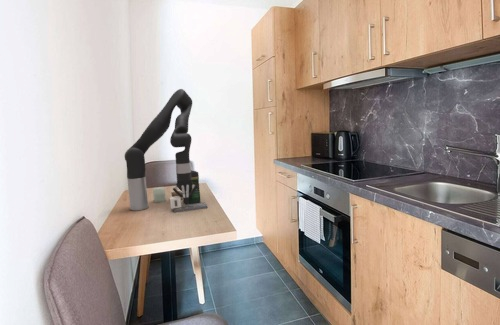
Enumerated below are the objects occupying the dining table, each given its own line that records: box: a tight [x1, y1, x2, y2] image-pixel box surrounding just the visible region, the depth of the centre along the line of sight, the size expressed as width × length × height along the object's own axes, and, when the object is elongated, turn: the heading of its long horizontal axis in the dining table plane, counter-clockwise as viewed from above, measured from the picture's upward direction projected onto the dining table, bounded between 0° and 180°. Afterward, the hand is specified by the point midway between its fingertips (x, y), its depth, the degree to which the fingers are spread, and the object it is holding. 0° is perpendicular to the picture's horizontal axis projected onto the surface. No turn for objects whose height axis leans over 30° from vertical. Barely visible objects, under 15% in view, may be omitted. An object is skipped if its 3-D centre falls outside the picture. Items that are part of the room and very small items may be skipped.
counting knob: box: [169, 196, 182, 210], centre depth 148 cm, size 6×5×5 cm
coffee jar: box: [185, 169, 201, 204], centre depth 164 cm, size 10×8×19 cm
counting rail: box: [172, 202, 208, 213], centre depth 151 cm, size 8×17×2 cm, turn 108°
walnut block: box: [171, 190, 183, 201], centre depth 171 cm, size 5×5×5 cm
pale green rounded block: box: [152, 186, 167, 204], centre depth 171 cm, size 7×7×8 cm
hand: (186, 204), depth 151 cm, fingers closed
